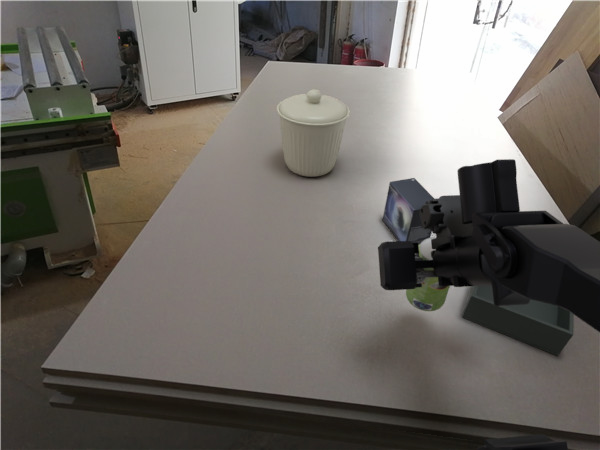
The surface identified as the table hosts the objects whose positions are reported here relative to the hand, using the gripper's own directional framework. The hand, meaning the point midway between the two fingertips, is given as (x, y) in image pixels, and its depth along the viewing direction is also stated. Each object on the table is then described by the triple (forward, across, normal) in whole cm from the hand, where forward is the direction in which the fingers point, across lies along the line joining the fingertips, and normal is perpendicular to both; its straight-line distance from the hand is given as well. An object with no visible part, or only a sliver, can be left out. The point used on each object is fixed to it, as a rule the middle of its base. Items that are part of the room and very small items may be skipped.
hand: (424, 265), depth 61 cm
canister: (+46, +10, -28) cm, 55 cm away
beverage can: (+4, 0, +6) cm, 7 cm away
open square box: (+11, -21, +7) cm, 25 cm away
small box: (+26, -7, -8) cm, 29 cm away
